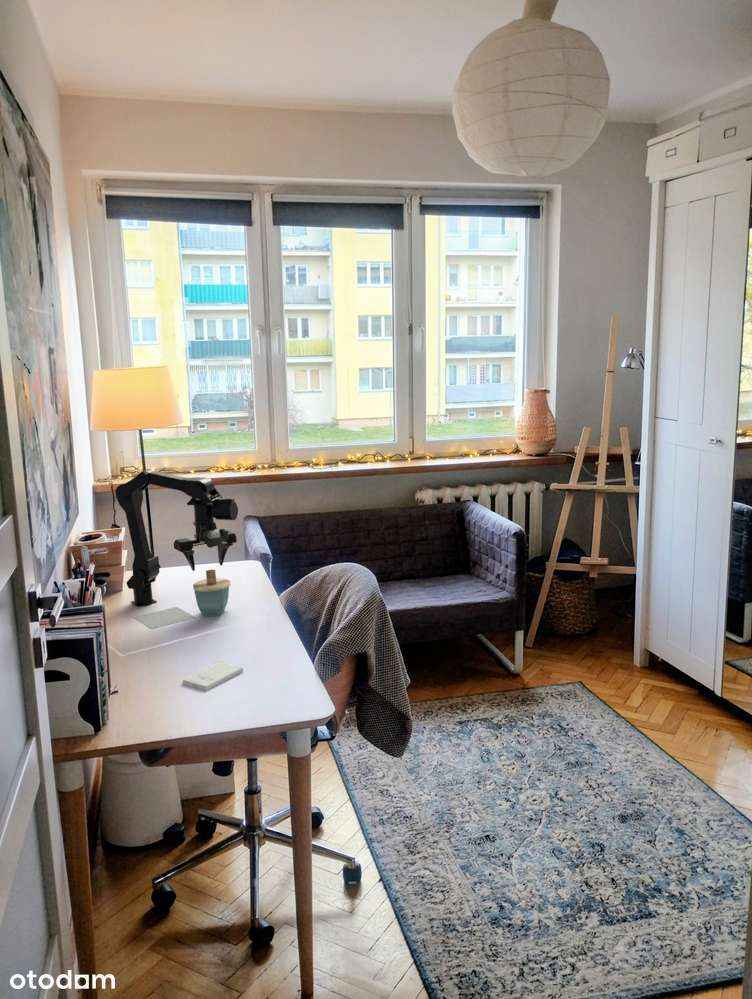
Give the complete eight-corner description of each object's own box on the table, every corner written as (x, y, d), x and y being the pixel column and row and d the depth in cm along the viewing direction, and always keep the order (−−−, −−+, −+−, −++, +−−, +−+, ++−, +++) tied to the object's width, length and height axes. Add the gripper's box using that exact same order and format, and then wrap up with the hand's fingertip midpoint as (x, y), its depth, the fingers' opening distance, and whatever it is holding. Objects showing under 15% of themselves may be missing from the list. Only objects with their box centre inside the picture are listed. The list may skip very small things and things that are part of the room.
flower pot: (225, 618, 233) (223, 589, 231) (196, 619, 233) (193, 590, 231) (231, 609, 241) (229, 581, 240) (203, 609, 242) (201, 582, 240)
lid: (187, 586, 236) (185, 571, 236) (220, 578, 243) (218, 563, 242) (203, 594, 228) (201, 578, 227) (236, 586, 234) (235, 570, 234)
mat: (133, 618, 236) (133, 617, 236) (176, 607, 244) (176, 606, 244) (151, 630, 225) (151, 628, 225) (196, 618, 234) (196, 617, 234)
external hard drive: (243, 673, 193) (206, 692, 183) (219, 667, 198) (182, 685, 187) (242, 667, 193) (206, 685, 183) (219, 661, 197) (182, 678, 187)
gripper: (185, 528, 227) (189, 579, 230) (243, 518, 238) (246, 568, 241) (171, 521, 236) (175, 571, 239) (227, 513, 247) (230, 560, 250)
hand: (207, 567), depth 242 cm, fingers open, 9 cm apart
